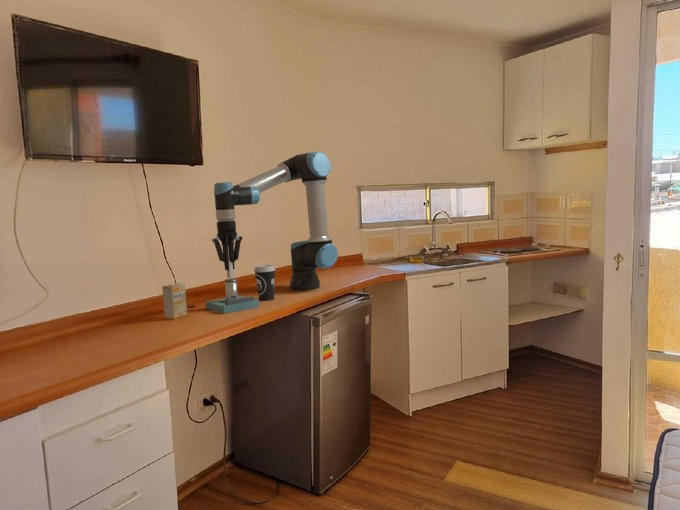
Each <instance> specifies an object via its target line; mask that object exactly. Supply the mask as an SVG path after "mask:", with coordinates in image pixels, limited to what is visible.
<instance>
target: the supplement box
mask: <svg viewBox="0 0 680 510" xmlns="http://www.w3.org/2000/svg"><path fill="white" fill-rule="evenodd" d="M161 289H162V301H163V311H164V312H163V313H164V320H176V319H180V318H182V317H185V316H187V315H188V310H187V309H188V308H187V297H186V284H185V282H175V283H170V284H167V285H166V284H165V285H162V286H161Z"/></svg>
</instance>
